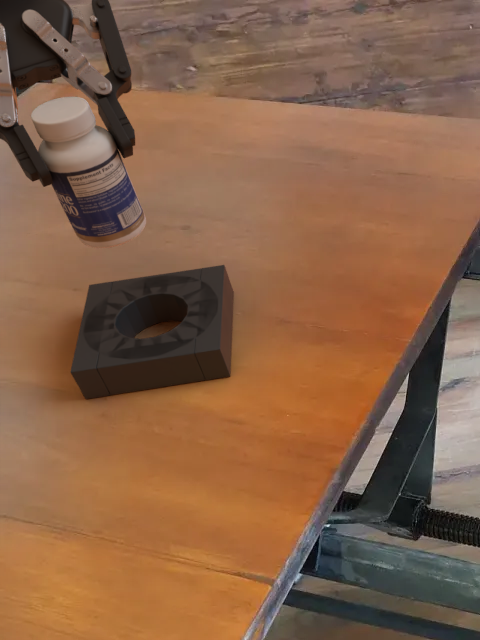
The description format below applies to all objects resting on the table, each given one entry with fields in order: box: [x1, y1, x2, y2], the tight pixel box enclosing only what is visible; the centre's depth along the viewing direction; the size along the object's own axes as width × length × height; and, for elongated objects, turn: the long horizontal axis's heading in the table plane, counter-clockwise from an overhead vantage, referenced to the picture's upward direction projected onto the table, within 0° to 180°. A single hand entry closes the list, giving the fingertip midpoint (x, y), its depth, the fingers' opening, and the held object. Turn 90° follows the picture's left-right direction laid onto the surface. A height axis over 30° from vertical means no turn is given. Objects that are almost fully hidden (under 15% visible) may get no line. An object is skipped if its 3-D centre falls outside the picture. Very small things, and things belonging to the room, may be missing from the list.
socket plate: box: [70, 264, 235, 400], centre depth 77 cm, size 12×12×3 cm
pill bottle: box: [30, 96, 147, 249], centre depth 66 cm, size 5×5×10 cm
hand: (88, 166), depth 64 cm, fingers closed on pill bottle, 5 cm apart
